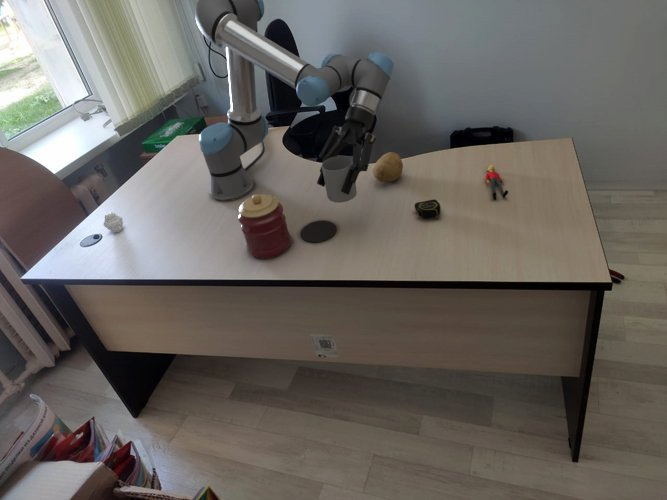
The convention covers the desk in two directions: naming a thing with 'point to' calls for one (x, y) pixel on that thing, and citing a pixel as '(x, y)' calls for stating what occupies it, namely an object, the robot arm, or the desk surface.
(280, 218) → the kitchen canister
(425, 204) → the tape measure
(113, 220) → the beige knobbly lump
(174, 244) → the desk surface
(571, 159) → the desk surface
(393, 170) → the potato
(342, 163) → the cup
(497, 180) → the person figure
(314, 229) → the coaster
